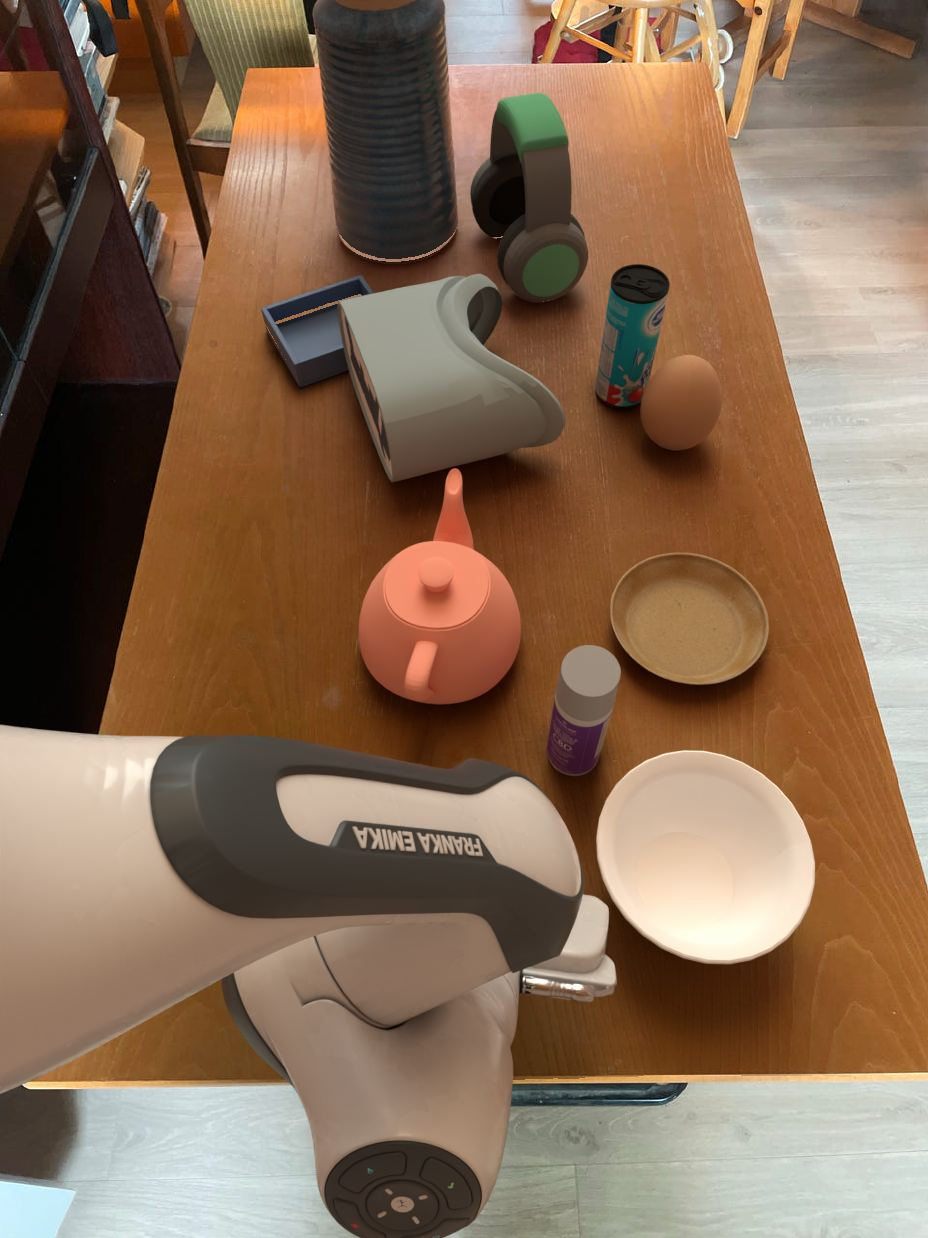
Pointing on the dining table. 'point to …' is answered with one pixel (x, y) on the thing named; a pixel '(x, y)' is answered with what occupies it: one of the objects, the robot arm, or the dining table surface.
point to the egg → (681, 403)
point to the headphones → (530, 200)
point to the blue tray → (312, 330)
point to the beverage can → (630, 334)
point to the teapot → (440, 615)
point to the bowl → (705, 857)
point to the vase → (388, 124)
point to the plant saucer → (689, 618)
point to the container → (582, 709)
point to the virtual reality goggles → (440, 377)
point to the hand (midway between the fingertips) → (470, 866)
